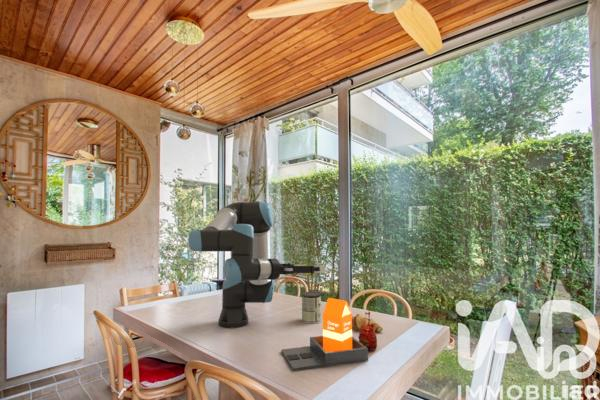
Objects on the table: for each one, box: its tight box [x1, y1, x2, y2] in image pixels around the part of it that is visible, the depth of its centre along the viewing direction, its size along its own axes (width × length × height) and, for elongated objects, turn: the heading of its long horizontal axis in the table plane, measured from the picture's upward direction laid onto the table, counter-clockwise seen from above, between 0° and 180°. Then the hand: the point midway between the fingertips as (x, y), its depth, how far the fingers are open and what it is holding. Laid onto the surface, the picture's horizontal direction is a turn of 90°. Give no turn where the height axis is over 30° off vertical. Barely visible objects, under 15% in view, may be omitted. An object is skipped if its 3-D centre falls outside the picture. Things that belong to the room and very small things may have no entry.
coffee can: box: [301, 291, 322, 325], centre depth 163 cm, size 10×10×14 cm
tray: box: [281, 335, 369, 372], centre depth 118 cm, size 29×17×4 cm, turn 107°
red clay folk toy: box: [358, 310, 378, 352], centre depth 126 cm, size 8×7×15 cm
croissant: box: [352, 313, 384, 333], centre depth 150 cm, size 21×10×8 cm
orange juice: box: [322, 297, 353, 352], centre depth 120 cm, size 8×9×20 cm
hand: (314, 268), depth 123 cm, fingers open, 13 cm apart
